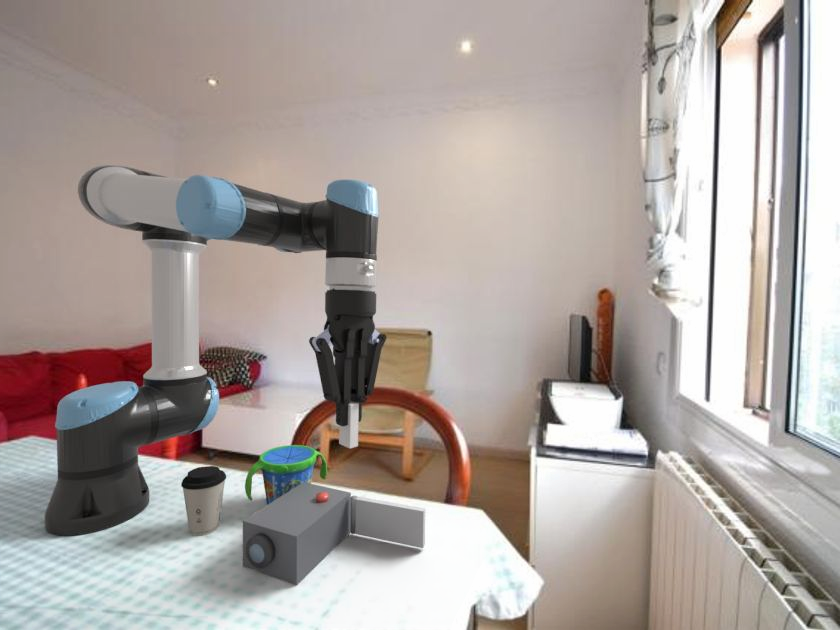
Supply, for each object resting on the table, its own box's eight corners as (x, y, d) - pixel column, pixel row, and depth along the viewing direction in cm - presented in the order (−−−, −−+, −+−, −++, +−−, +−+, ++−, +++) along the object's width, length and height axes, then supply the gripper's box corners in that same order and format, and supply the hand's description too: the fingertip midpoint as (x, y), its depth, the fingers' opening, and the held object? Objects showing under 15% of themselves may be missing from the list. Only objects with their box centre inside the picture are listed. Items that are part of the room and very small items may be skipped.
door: (422, 548, 64) (423, 511, 64) (349, 533, 68) (349, 498, 68) (425, 542, 65) (426, 506, 65) (353, 527, 69) (354, 493, 69)
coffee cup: (235, 521, 72) (235, 466, 72) (203, 543, 65) (203, 483, 65) (205, 514, 74) (204, 461, 74) (171, 535, 68) (170, 477, 67)
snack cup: (318, 485, 87) (318, 438, 86) (336, 506, 78) (336, 454, 77) (240, 504, 78) (240, 453, 78) (250, 530, 69) (250, 472, 69)
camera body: (235, 572, 59) (235, 520, 58) (303, 519, 73) (303, 477, 73) (290, 591, 55) (290, 536, 55) (350, 532, 69) (350, 488, 69)
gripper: (329, 287, 52) (326, 464, 53) (399, 290, 62) (396, 440, 63) (298, 287, 57) (296, 449, 58) (368, 290, 67) (365, 429, 68)
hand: (348, 444), depth 61 cm, fingers closed
